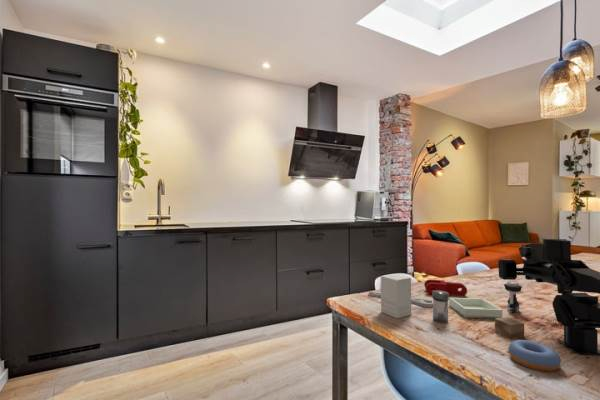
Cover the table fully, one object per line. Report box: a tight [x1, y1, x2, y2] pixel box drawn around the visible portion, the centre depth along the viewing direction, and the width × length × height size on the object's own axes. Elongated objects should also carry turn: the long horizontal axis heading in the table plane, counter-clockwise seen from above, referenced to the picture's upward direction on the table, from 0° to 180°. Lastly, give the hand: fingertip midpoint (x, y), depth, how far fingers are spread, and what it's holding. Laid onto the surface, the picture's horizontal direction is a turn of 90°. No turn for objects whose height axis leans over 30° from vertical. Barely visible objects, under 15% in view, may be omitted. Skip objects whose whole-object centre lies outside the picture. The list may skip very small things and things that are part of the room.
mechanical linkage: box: [423, 278, 468, 297], centre depth 127 cm, size 16×7×5 cm, turn 73°
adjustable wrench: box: [368, 291, 433, 308], centre depth 119 cm, size 25×6×2 cm, turn 53°
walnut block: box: [494, 316, 525, 340], centre depth 87 cm, size 5×5×4 cm
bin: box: [448, 297, 503, 320], centre depth 105 cm, size 12×12×3 cm
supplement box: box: [380, 273, 412, 319], centre depth 103 cm, size 7×7×13 cm
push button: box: [503, 281, 523, 314], centre depth 107 cm, size 7×5×10 cm
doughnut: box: [507, 339, 562, 372], centre depth 72 cm, size 10×10×5 cm
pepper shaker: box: [432, 290, 450, 324], centre depth 98 cm, size 5×5×9 cm
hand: (510, 265), depth 104 cm, fingers open, 9 cm apart
